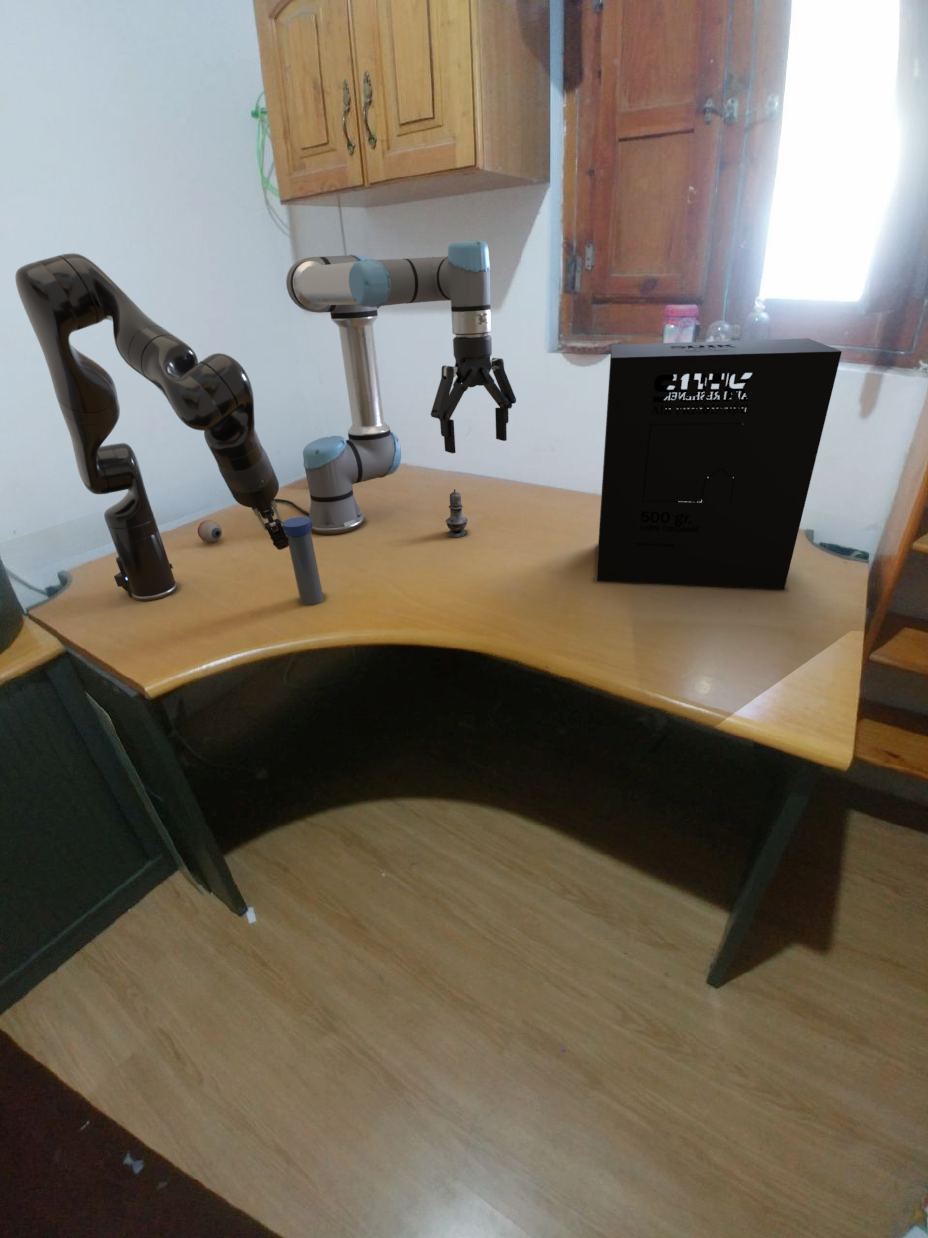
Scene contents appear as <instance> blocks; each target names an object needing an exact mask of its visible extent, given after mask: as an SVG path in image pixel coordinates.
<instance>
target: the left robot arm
mask: <svg viewBox="0 0 928 1238" xmlns="http://www.w3.org/2000/svg"><path fill="white" fill-rule="evenodd" d="M14 277H15V280H14V281H15V287H16V289H17V294H18V295H19V299H20V301H21V304H22V306H23V308H24V311H25V313H26V316H27V318H28V320H29V323H30V325H31V327H32V330H33V332H34V334H35V337H36V338H37V339H36V340H37V341H38V343H39V346H40V349H41V352H42V353H43V355H44V359H45V362H46V365H47V368H48V372H49V375H50V379H51V382H52V385H53V390H54V394H55V397H56V400H57V403H58V406H59V409H60V411H61V414H62V417H63V419H64V421H65V425H66V427H67V430H68V433H69V436H70V439H71V443H72V449H73V453H74V458H75V463H76V466H77V467H76V468H77V470H78V473H79V474H78V475H79V477H80V479H81V481H82V483H83V485H84V486H85V488H86V489H87V490H88V491H89V492H90V493H92V494H94V495H107V494H110V493H111V494H112V493H117V492H122V491H126V490H127V492H126V495H124V496H123V498H122V499H120V500H119V501H118V502H116V503H115V504H112V506H110V507H108V508H107V509H106V510H105V511H104V513H103V516H104V521H105V523H106V526H107V529H108V531H109V534H110V537H111V539H112V542H113V545H114V547H115V550H116V553H117V555H118V556H117V557H116V558H115V562H116V564H117V566H118V567H117V568H118V570H119V572H118V573H116V574H115V575H114V576H113V577H114V580H115V583H116V587H118V588H122V589H123V590H124V591H125V592H126V593H128V597H129V598H133V600H136V601H140V602H148V601H149V602H150V601H155V600H160V599H163V598H165V597H168V596H170V595H171V594H173V593H174V592H175V591H177V588H178V584H177V581H176V580H175V576H174V573H173V570H172V569H174V566H173V564H172V563H170V560H169V557H168V554H167V552H166V549H165V546H164V542H163V540H162V536H161V534H160V530H159V528H158V524H157V521H156V518H155V516H154V511H153V509H152V505H151V503H150V500H149V497H148V494H147V491H146V487H145V483H144V479H143V474H142V471H141V468H140V464H139V461H138V458H137V455H136V453H135V450H134V449H133V448H132V446H130V444H128V443H126V442H119V443H112V444H105V445H103V443H104V442H105V441H106V439H107V438H108V437H109V435H110V434H111V433H112V432H113V431H114V429H115V427H116V425H117V424H118V422H119V419H120V415H121V406H120V402H119V397H118V392H117V386H116V383H115V381H114V379H113V377H112V376H111V374H110V373H109V372H108V371H107V370H106V369H105V368H104V367H102V366H101V365H100V364H99V363H98V362H97V361H95V360H93V359H92V358H91V357H89V356H87V355H86V354H84V353H83V352H81V351H80V350H78V349H77V348H76V347H75V346H74V345H72V344H71V342H70V336H71V334H73V333H74V332H77V331H80V330H83V329H86V328H88V327H92V326H94V325H97V324H100V323H102V322H103V321H106V320H108V321H111V322H112V335H113V340H114V345H115V347H116V350H117V351H118V354H119V356H120V357H121V358H122V360H123V361H124V362H125V364H127V365H128V366H129V367H130V368H131V369H132V370H134V371H135V372H137V374H139V375H140V376H141V377H143V378H145V379H146V380H147V381H148V382H150V383H151V384H152V385H154V386H155V387H156V388H157V389H158V390H159V391H160V392H161V394H162V395H163V396H164V397H165V399H166V400H167V402H168V404H169V405H170V407H171V408H172V410H173V412H174V414H175V415H176V416H177V418H178V419H179V420H180V421H181V422H182V423H183V424H184V425H185V426H187V427H188V428H190V429H193V430H196V431H201V432H202V431H203V436H204V441H205V443H206V445H207V447H208V449H209V451H210V453H211V454H212V456H213V458H214V460H215V462H216V464H217V467H218V470H219V473H220V475H221V477H222V478H223V480H224V482H225V484H226V486H227V488H228V490H229V492H230V494H231V496H232V497H233V500H235V502H237V503H238V504H239V505H240V506H243V507H246V508H249V509H250V508H251V510H252V512H253V514H254V515H255V516H256V517H257V519H258V520H259V523H260V525H261V527H262V529H263V530H264V531H267V533H268V535H269V538H270V540H271V541H272V545H273V546H274V547H275V548H276V549H277V550H278V551H282V550H284V549H286V548H289V543H288V542H289V541H288V540H289V538H288V537H287V536H286V532H285V531H284V529H283V527H282V523H283V522H284V521H283V519H282V517H281V515H280V513H279V510H278V505H277V503H276V502H277V501H275V500H274V499H276V497H277V495H278V493H279V491H280V490H279V489H280V483H279V479H278V477H277V475H276V473H275V470H274V467H273V466H272V463H271V460H270V457H269V456H268V453H267V451H266V450H265V448H264V447H263V445H262V442H261V440H260V437H259V436H258V433H257V430H256V429H255V425H256V424H255V423H256V421H255V400H254V391H253V386H252V382H251V380H250V378H249V376H248V374H247V372H246V370H245V368H244V367H243V366H242V365H241V363H240V362H239V361H237V360H236V359H235V358H233V356H230V355H228V354H226V353H221V352H216V353H212V354H210V355H208V356H206V357H205V358H203V359H202V360H199V359H198V356H197V354H196V352H195V351H194V350H193V348H191V346H190V345H189V344H187V343H186V342H184V341H183V340H182V339H180V338H178V336H176V335H174V334H173V333H171V332H170V331H168V330H167V329H166V328H164V327H163V326H161V325H159V324H158V323H157V322H156V321H154V320H153V319H152V318H151V317H149V316H148V315H147V314H146V313H145V312H144V311H143V310H142V309H141V308H140V307H139V306H138V305H137V303H135V302H134V301H133V300H132V299H131V298H130V297H129V296H128V294H126V292H124V290H122V289H121V288H120V287H119V286H118V284H116V283H115V282H114V281H113V279H111V278H110V276H109V275H108V274H106V272H104V271H103V270H102V269H101V267H99V266H98V265H97V264H96V263H94V262H93V261H92V260H90V259H89V258H88V257H86V256H84V255H82V254H79V253H76V252H69V253H63V254H59V255H55V256H52V257H48V258H44V259H40V260H37V261H34V262H29V263H27V264H24V265H22V266H21V267H19V268H18V269H17V270H16V272H15V276H14ZM275 515H276V518H275V519H274V516H275ZM264 520H267V522H265V521H264Z"/></svg>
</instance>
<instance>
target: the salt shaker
mask: <svg viewBox="0 0 928 1238" xmlns="http://www.w3.org/2000/svg"><path fill="white" fill-rule="evenodd" d="M463 507H464V505H463V504H462V495H461V493H459V492H457V490H456V489H455V488H454V489H453V492H451V493H450V494H449V505H448V508H449V513H450V515H449V517H448V518H446V519H445V521H444V522H445V523H446V526H447V528H448V529H449V530H448V531H447V536H449V537H452V538H460V537H461V538H462V537H464V536H467V534H468V531H467V529H466V527H467V524H468V521H469V519H468V518H467V517H465V516H464V515H463Z"/></svg>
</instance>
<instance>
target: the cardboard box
mask: <svg viewBox="0 0 928 1238" xmlns="http://www.w3.org/2000/svg"><path fill="white" fill-rule="evenodd" d="M841 356H842V350H840V349H838V348H834V347H833V346H829V345H827V344H823V343H821V342H819V341H816V340H813V339H811V338H808V337H807V338H806V337H805V338H780V339H779V338H777V339H776V338H775V339H774V338H773V339H749V340H748V339H746V340H745V339H744V340H718V341H688V342H687V341H685V342H683V341H682V342H681V341H680V342H652V343H624V344H623V343H621V344H611V345H610V358H609V372H608V373H609V374H608V386H607V388H608V392H607V405H606V419H605V420H606V422H605V434H604V451H603V452H604V453H603V466H602V481H601V496H600V512H599V513H600V514H599V528H598V541H597V542H598V543H597V566H596V567H597V568H596V582H609V583H630V584H648V585H649V584H653V585H672V586H673V585H674V586H675V585H676V586H693V587H695V586H697V587H699V586H700V587H716V588H717V587H718V588H719V587H720V588H739V589H740V588H742V589H762V590H764V589H765V590H781V591H782V590H785V588H786V584H787V580H788V576H789V572H790V567H791V563H792V559H793V555H794V551H795V546H796V542H797V538H798V535H799V531H800V528H801V527H800V526H801V522H802V518H803V514H804V509H805V506H806V501H807V497H808V493H809V489H810V485H811V480H812V476H813V472H814V468H815V465H816V460H817V456H818V451H819V447H820V443H821V440H822V435H823V432H824V427H825V423H826V419H827V415H828V410H829V405H830V403H831V398H832V394H833V390H834V386H835V381H836V378H837V374H838V369H839V365H840V360H841ZM745 374H751V375H750V376H749V377H748V378H743V377H744V376H745ZM675 375H676V378H675ZM685 375H688V380H687V386H686V388H682V385H683V377H684V376H685ZM696 375H700V380H699V379H695V377H696ZM710 375H712V377H711V379H710ZM723 375H724V376H723ZM733 376H734V378H733V385H738V384H743V386H742V387H741V388H739V387H738V388H733V387H731V385H730V383H731V379H732V377H733ZM699 385H702V388H699ZM713 385H718V388H712V387H713ZM670 386H671V387H673V388H671V389H668V388H669V387H670Z"/></svg>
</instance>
